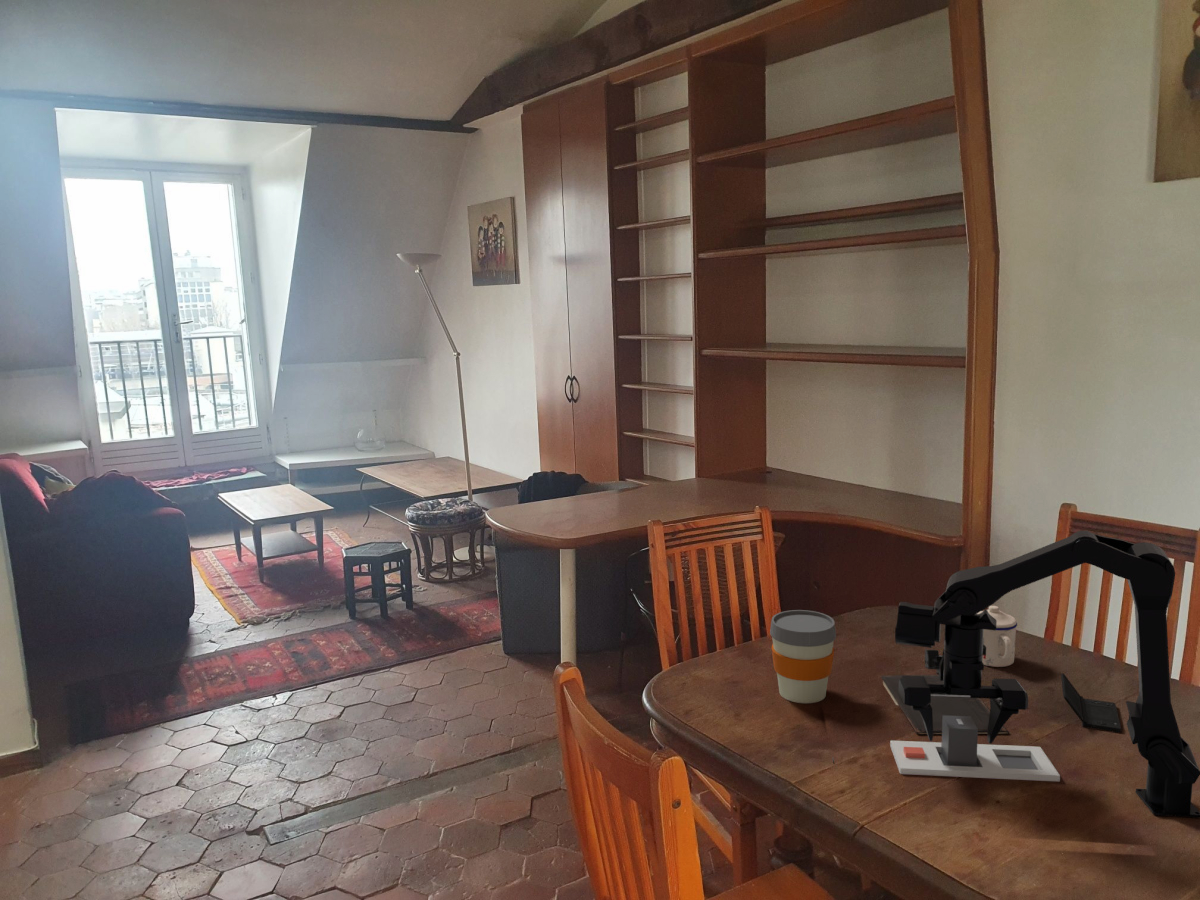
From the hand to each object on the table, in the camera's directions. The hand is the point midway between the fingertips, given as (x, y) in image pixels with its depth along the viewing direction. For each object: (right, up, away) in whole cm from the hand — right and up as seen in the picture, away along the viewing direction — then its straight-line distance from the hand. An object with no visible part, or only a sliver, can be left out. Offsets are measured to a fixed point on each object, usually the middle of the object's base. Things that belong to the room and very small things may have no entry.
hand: (959, 741), depth 141 cm
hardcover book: (+5, -2, +21) cm, 22 cm away
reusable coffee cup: (-19, -1, +30) cm, 35 cm away
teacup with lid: (+24, +3, +41) cm, 48 cm away
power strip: (-3, -5, +1) cm, 6 cm away
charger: (0, -4, +1) cm, 4 cm away
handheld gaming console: (+31, -1, +17) cm, 35 cm away
